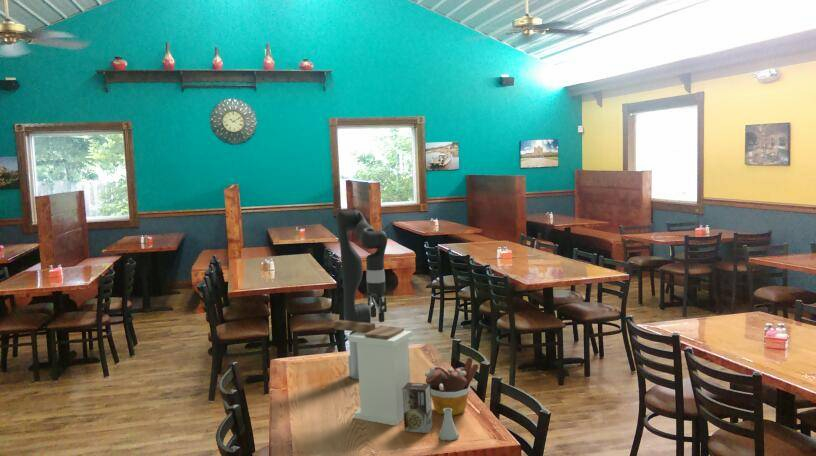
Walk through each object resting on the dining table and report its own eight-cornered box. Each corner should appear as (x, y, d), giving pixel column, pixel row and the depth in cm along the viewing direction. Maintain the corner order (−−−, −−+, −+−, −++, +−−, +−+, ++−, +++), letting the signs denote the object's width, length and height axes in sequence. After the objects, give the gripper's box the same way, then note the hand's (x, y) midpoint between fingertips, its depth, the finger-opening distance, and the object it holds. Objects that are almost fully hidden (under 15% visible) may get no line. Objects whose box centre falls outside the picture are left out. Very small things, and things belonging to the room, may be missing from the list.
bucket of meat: (433, 422, 242) (431, 370, 240) (420, 406, 258) (418, 357, 256) (483, 414, 247) (482, 363, 245) (468, 399, 263) (466, 351, 261)
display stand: (352, 417, 250) (347, 335, 246) (371, 404, 262) (367, 326, 258) (397, 426, 240) (393, 341, 236) (415, 412, 252) (412, 331, 249)
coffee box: (433, 426, 239) (431, 383, 237) (427, 433, 233) (426, 389, 231) (409, 424, 242) (407, 381, 240) (403, 431, 236) (401, 387, 234)
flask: (437, 433, 232) (436, 406, 231) (457, 432, 233) (456, 404, 232) (439, 442, 225) (438, 414, 224) (460, 440, 226) (459, 412, 225)
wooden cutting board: (327, 332, 252) (326, 324, 251) (344, 324, 262) (344, 316, 262) (388, 338, 239) (387, 330, 238) (403, 330, 249) (403, 322, 249)
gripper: (360, 278, 268) (362, 317, 270) (373, 284, 255) (375, 324, 257) (377, 276, 271) (379, 314, 273) (391, 282, 259) (393, 322, 261)
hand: (377, 319), depth 265 cm, fingers open, 8 cm apart
